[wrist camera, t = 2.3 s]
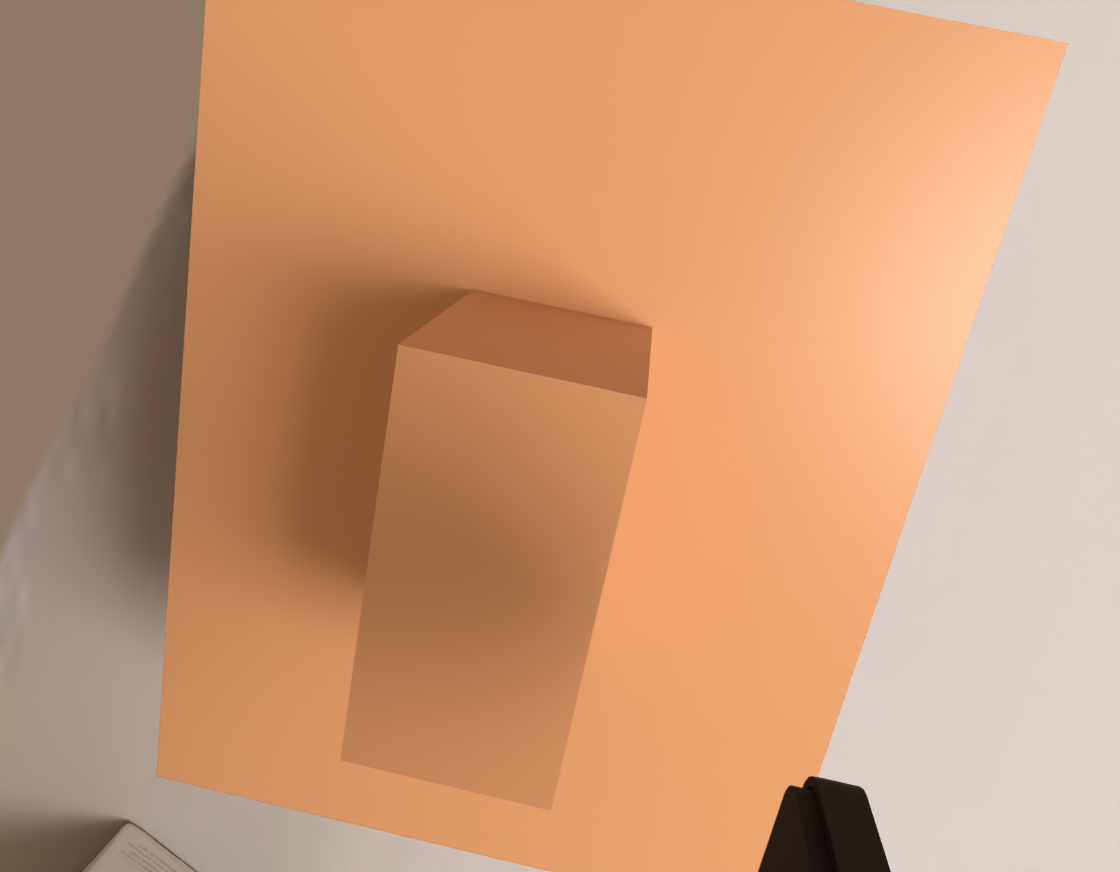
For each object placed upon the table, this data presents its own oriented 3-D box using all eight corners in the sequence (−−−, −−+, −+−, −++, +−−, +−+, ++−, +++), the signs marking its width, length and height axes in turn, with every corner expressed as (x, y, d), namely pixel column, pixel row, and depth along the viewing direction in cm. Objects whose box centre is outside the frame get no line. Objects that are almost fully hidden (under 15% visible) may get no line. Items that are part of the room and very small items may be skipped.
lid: (1016, 56, 20) (1262, -9, 12) (757, 850, 27) (798, 1160, 19) (269, -90, 21) (8, -247, 13) (203, 718, 28) (7, 959, 19)
